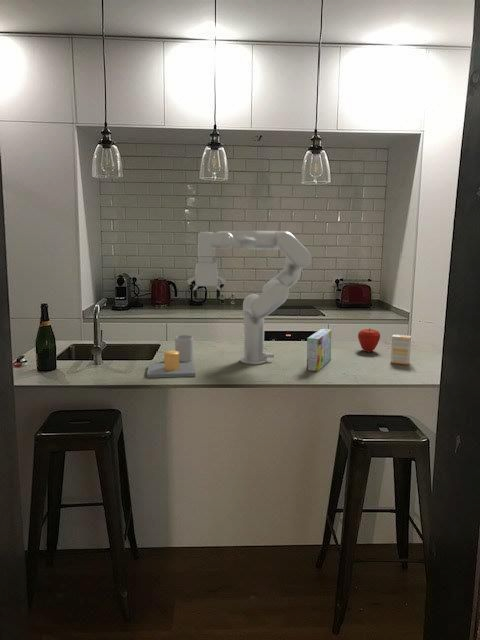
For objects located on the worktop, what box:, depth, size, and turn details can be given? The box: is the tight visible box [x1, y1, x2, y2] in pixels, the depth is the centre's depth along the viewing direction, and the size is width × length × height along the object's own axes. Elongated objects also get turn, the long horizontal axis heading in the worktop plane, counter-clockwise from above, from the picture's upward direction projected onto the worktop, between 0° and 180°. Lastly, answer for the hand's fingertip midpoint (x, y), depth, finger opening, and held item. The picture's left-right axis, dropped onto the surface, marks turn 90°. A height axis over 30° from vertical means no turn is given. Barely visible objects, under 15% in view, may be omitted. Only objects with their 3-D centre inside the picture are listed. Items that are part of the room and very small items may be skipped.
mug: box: [174, 334, 194, 363], centre depth 236 cm, size 12×8×11 cm
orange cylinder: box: [163, 350, 180, 370], centre depth 216 cm, size 6×6×7 cm
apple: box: [357, 328, 381, 353], centre depth 253 cm, size 11×11×12 cm
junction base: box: [146, 362, 196, 379], centre depth 216 cm, size 20×16×6 cm
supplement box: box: [390, 333, 412, 366], centre depth 232 cm, size 8×5×13 cm, turn 65°
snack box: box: [306, 328, 332, 372], centre depth 227 cm, size 21×6×15 cm, turn 154°
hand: (206, 298), depth 223 cm, fingers open, 9 cm apart
